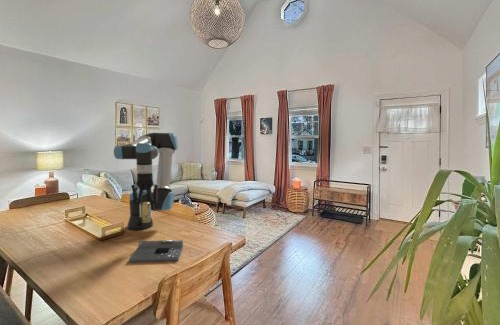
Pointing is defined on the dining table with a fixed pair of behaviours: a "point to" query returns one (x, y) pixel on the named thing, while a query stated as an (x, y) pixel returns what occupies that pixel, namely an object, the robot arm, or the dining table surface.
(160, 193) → the robot arm
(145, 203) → the cylinder
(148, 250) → the plate
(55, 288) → the dining table surface
